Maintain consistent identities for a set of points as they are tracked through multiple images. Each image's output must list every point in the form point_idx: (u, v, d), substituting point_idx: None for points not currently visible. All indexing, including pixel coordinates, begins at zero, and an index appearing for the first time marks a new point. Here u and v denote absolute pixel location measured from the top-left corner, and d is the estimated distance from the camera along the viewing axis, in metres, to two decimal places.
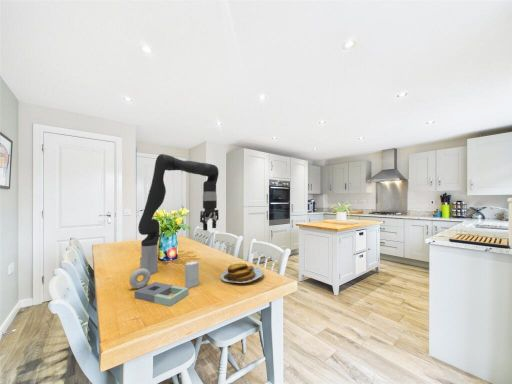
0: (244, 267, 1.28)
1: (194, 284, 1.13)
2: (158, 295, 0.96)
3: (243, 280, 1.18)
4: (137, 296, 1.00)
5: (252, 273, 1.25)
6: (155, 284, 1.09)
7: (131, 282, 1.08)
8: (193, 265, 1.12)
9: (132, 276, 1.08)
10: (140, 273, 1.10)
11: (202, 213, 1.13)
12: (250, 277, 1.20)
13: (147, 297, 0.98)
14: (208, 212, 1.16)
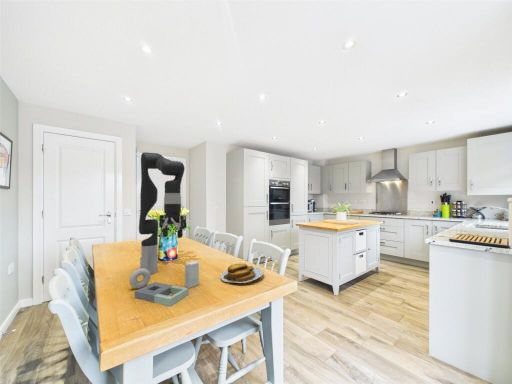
0: (244, 267, 1.28)
1: (194, 284, 1.13)
2: (158, 295, 0.96)
3: (243, 280, 1.18)
4: (137, 296, 1.00)
5: (252, 273, 1.25)
6: (155, 284, 1.09)
7: (131, 282, 1.08)
8: (193, 265, 1.12)
9: (132, 276, 1.08)
10: (140, 273, 1.10)
11: (184, 218, 0.99)
12: (250, 277, 1.20)
13: (147, 297, 0.98)
14: None
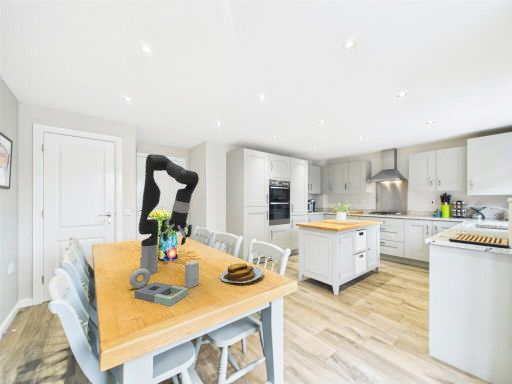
0: (244, 267, 1.28)
1: (194, 284, 1.13)
2: (158, 295, 0.96)
3: (243, 280, 1.18)
4: (137, 296, 1.00)
5: (252, 273, 1.25)
6: (155, 284, 1.09)
7: (131, 282, 1.08)
8: (193, 265, 1.12)
9: (132, 276, 1.08)
10: (140, 273, 1.10)
11: (191, 227, 1.05)
12: (250, 277, 1.20)
13: (147, 297, 0.98)
14: None
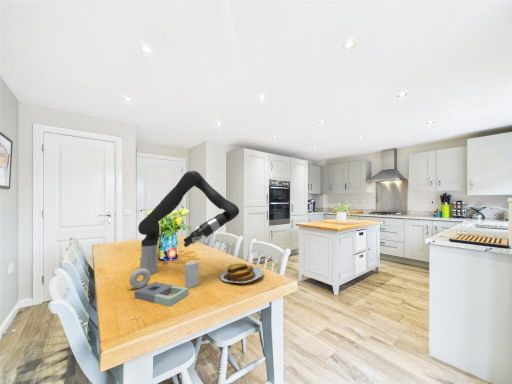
0: (244, 267, 1.28)
1: (194, 284, 1.13)
2: (158, 295, 0.96)
3: (243, 280, 1.18)
4: (137, 296, 1.00)
5: (252, 273, 1.25)
6: (155, 284, 1.09)
7: (131, 282, 1.08)
8: (193, 265, 1.12)
9: (132, 276, 1.08)
10: (140, 273, 1.10)
11: None
12: (250, 277, 1.20)
13: (147, 297, 0.98)
14: None
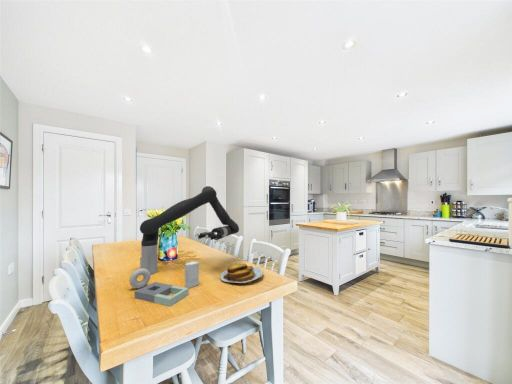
0: (244, 267, 1.28)
1: (194, 284, 1.13)
2: (158, 295, 0.96)
3: (243, 280, 1.18)
4: (137, 296, 1.00)
5: (252, 273, 1.25)
6: (155, 284, 1.09)
7: (131, 282, 1.08)
8: (193, 265, 1.12)
9: (132, 276, 1.08)
10: (140, 273, 1.10)
11: None
12: (250, 277, 1.20)
13: (147, 297, 0.98)
14: None
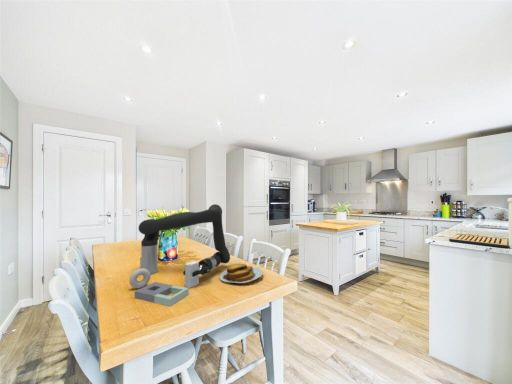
0: (243, 267, 1.28)
1: (194, 284, 1.13)
2: (158, 295, 0.96)
3: (242, 280, 1.18)
4: (137, 296, 1.00)
5: (251, 273, 1.24)
6: (155, 284, 1.09)
7: (131, 282, 1.08)
8: (193, 265, 1.13)
9: (132, 276, 1.08)
10: (140, 273, 1.10)
11: None
12: (249, 277, 1.20)
13: (147, 297, 0.98)
14: None
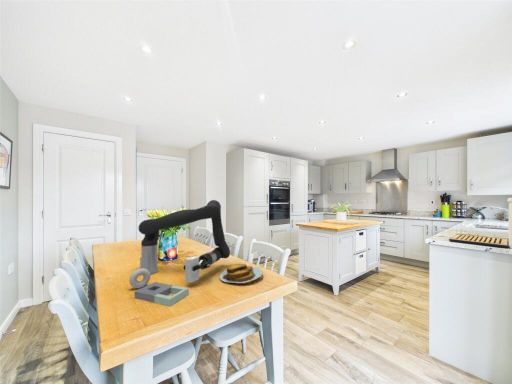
0: (243, 267, 1.28)
1: (195, 279, 1.13)
2: (158, 295, 0.96)
3: (242, 280, 1.18)
4: (137, 296, 1.00)
5: (251, 273, 1.24)
6: (155, 284, 1.09)
7: (131, 282, 1.08)
8: (194, 260, 1.13)
9: (132, 276, 1.08)
10: (140, 273, 1.10)
11: None
12: (249, 277, 1.20)
13: (147, 297, 0.98)
14: None
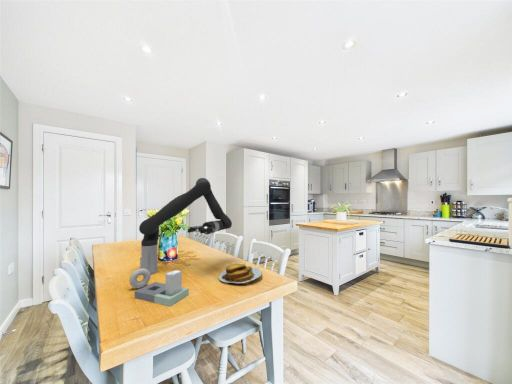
0: (242, 267, 1.27)
1: None
2: (158, 295, 0.96)
3: (241, 280, 1.18)
4: (137, 296, 1.00)
5: (250, 273, 1.24)
6: (155, 284, 1.09)
7: (131, 282, 1.08)
8: (175, 275, 0.99)
9: (132, 276, 1.08)
10: (140, 273, 1.10)
11: None
12: (248, 277, 1.19)
13: (147, 297, 0.98)
14: None
